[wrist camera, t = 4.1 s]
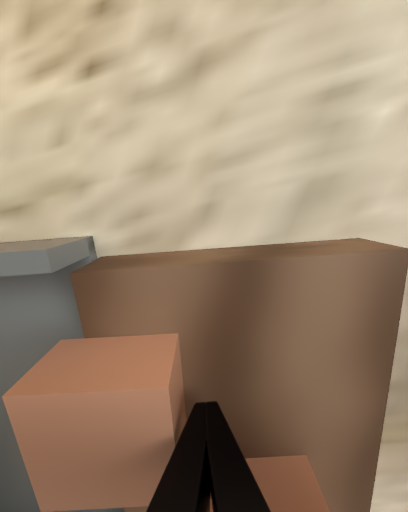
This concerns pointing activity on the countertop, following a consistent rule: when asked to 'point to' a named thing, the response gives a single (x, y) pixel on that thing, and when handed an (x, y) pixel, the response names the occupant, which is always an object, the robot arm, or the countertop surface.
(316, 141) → the countertop surface
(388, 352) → the walnut board
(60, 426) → the tile
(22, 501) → the tray
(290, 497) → the block
